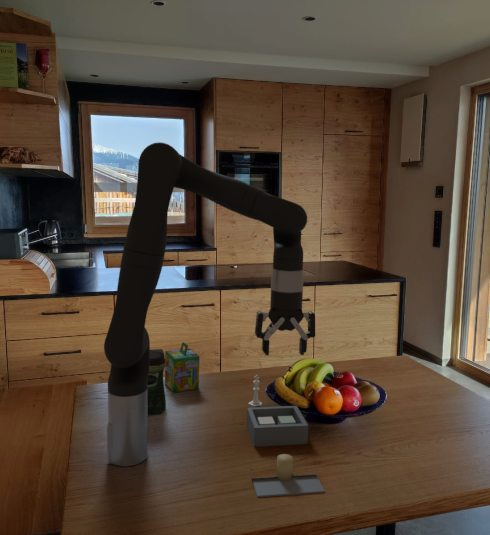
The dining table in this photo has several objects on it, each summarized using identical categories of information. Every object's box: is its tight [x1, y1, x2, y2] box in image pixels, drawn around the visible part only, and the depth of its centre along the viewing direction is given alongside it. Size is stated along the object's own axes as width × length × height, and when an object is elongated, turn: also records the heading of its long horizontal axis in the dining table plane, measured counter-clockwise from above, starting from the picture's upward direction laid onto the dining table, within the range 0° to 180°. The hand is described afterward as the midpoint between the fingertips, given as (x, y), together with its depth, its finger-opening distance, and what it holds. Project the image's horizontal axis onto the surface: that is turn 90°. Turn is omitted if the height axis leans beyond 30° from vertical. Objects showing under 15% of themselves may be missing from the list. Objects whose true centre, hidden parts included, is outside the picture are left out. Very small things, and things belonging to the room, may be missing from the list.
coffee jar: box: [147, 348, 167, 416], centre depth 145 cm, size 10×8×19 cm
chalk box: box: [164, 341, 200, 394], centre depth 165 cm, size 9×9×15 cm
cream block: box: [257, 417, 275, 425], centre depth 131 cm, size 4×4×4 cm
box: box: [246, 405, 309, 447], centre depth 132 cm, size 14×12×6 cm
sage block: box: [278, 416, 296, 425], centre depth 132 cm, size 4×4×4 cm
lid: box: [251, 453, 326, 498], centre depth 113 cm, size 15×13×6 cm
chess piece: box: [248, 374, 263, 407], centre depth 151 cm, size 5×5×10 cm
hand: (284, 354), depth 119 cm, fingers open, 8 cm apart
